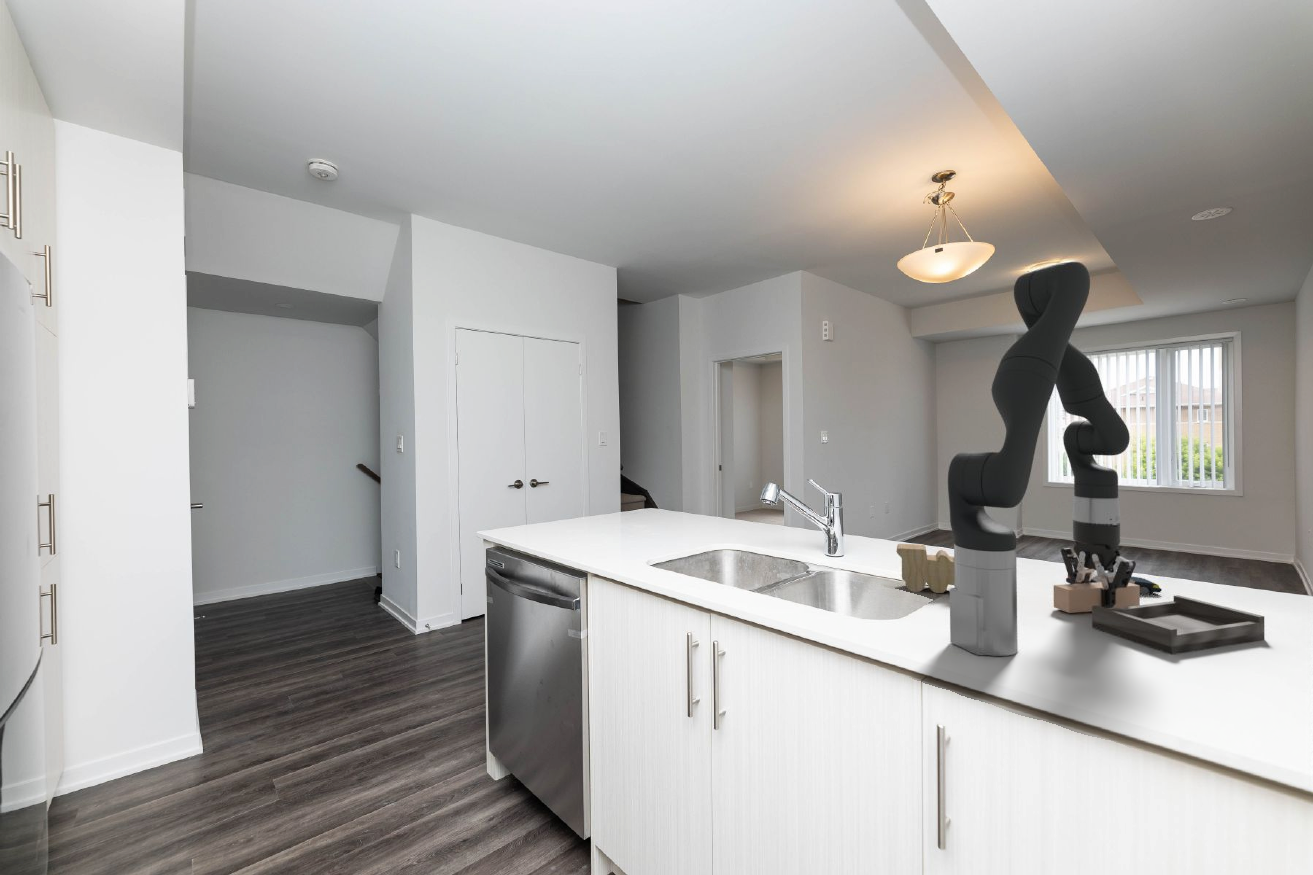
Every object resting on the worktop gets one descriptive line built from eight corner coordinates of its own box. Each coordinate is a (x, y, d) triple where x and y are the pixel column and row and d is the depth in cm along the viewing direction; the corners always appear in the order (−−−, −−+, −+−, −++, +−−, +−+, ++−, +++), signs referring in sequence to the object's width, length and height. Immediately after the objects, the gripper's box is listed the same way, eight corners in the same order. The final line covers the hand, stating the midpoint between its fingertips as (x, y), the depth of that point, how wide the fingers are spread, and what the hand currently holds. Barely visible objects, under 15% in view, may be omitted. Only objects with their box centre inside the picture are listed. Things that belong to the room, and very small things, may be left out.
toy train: (981, 598, 124) (980, 552, 124) (896, 590, 131) (896, 547, 131) (978, 591, 129) (978, 547, 129) (897, 584, 136) (896, 542, 136)
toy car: (1161, 596, 123) (1161, 574, 123) (1076, 593, 127) (1076, 570, 127) (1148, 590, 128) (1147, 568, 128) (1066, 586, 132) (1065, 565, 132)
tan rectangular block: (1068, 612, 112) (1068, 589, 112) (1053, 607, 115) (1053, 585, 115) (1139, 607, 114) (1139, 585, 114) (1122, 602, 117) (1122, 580, 117)
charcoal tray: (1171, 654, 92) (1171, 629, 92) (1092, 627, 105) (1092, 605, 105) (1264, 639, 97) (1264, 616, 97) (1178, 615, 110) (1178, 595, 110)
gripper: (1048, 515, 120) (1049, 595, 120) (1118, 525, 106) (1118, 616, 107) (1076, 513, 122) (1077, 592, 122) (1148, 523, 108) (1148, 613, 109)
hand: (1096, 603), depth 114 cm, fingers closed on tan rectangular block, 4 cm apart
